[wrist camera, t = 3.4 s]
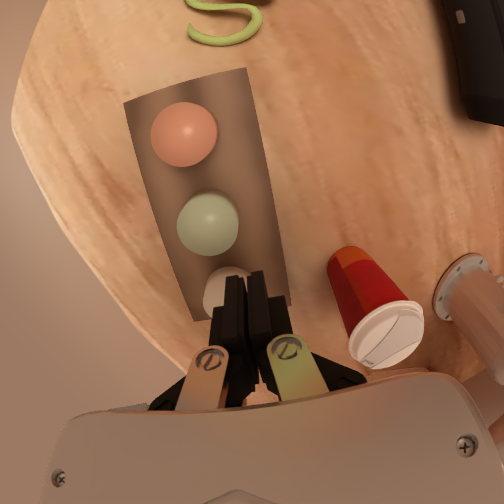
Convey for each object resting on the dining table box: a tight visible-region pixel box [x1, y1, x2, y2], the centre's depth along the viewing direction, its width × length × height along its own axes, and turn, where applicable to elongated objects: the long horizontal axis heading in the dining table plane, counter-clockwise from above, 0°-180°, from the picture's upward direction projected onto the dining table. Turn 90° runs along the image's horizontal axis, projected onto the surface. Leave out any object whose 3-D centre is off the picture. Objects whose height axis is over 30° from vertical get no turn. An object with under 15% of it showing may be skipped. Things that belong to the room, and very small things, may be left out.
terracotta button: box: [150, 102, 219, 167], centre depth 21 cm, size 5×5×3 cm
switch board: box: [123, 67, 292, 321], centre depth 28 cm, size 12×26×3 cm, turn 11°
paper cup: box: [327, 246, 424, 369], centre depth 27 cm, size 8×8×14 cm
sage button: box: [177, 190, 239, 256], centre depth 24 cm, size 5×5×3 cm
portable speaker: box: [443, 0, 504, 127], centre depth 14 cm, size 26×10×10 cm, turn 7°
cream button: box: [203, 266, 250, 318], centre depth 28 cm, size 5×5×3 cm
